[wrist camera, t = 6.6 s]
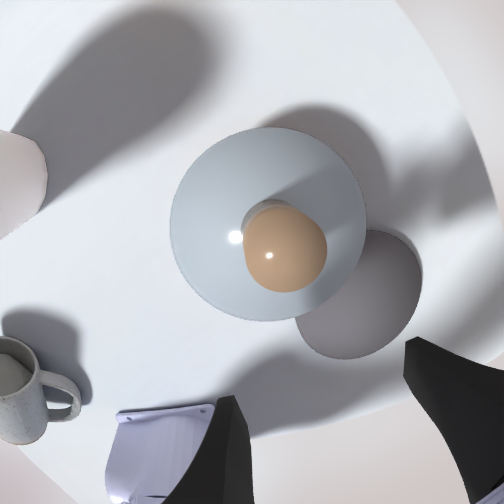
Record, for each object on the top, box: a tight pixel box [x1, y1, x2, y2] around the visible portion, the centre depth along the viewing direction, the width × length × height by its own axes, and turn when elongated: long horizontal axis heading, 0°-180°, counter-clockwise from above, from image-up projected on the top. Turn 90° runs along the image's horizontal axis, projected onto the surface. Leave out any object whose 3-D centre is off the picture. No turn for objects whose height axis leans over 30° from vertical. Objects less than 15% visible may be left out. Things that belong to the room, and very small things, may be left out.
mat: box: [295, 230, 421, 359], centre depth 20 cm, size 10×10×1 cm
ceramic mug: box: [0, 336, 81, 445], centre depth 17 cm, size 11×8×8 cm
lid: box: [170, 127, 367, 321], centre depth 13 cm, size 10×10×4 cm
